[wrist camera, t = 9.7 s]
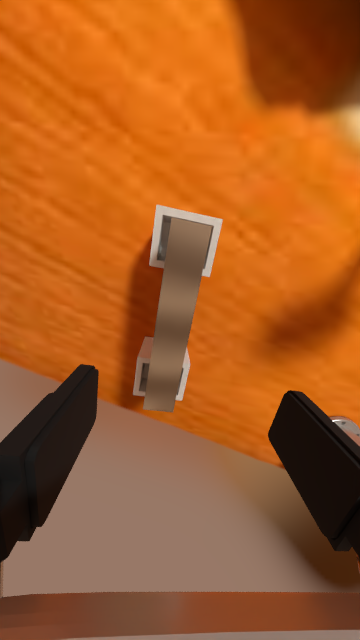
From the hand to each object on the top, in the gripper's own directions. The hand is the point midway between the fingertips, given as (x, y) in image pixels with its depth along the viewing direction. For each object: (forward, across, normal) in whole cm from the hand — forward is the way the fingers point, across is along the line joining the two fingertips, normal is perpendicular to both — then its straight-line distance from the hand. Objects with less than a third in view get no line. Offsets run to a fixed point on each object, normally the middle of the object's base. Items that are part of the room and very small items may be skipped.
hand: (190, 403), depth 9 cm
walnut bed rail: (+16, +1, 0) cm, 16 cm away
